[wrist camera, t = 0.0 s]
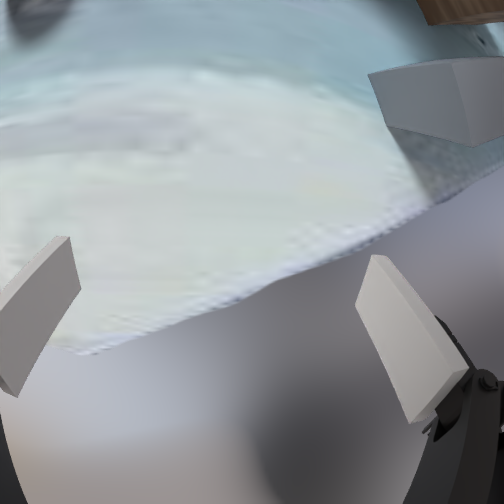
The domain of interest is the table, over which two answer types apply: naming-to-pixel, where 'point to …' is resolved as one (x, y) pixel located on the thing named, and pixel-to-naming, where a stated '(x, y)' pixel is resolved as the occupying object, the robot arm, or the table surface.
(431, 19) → the walnut stand
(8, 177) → the table surface
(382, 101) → the grey stand
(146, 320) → the table surface
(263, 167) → the table surface
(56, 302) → the robot arm
